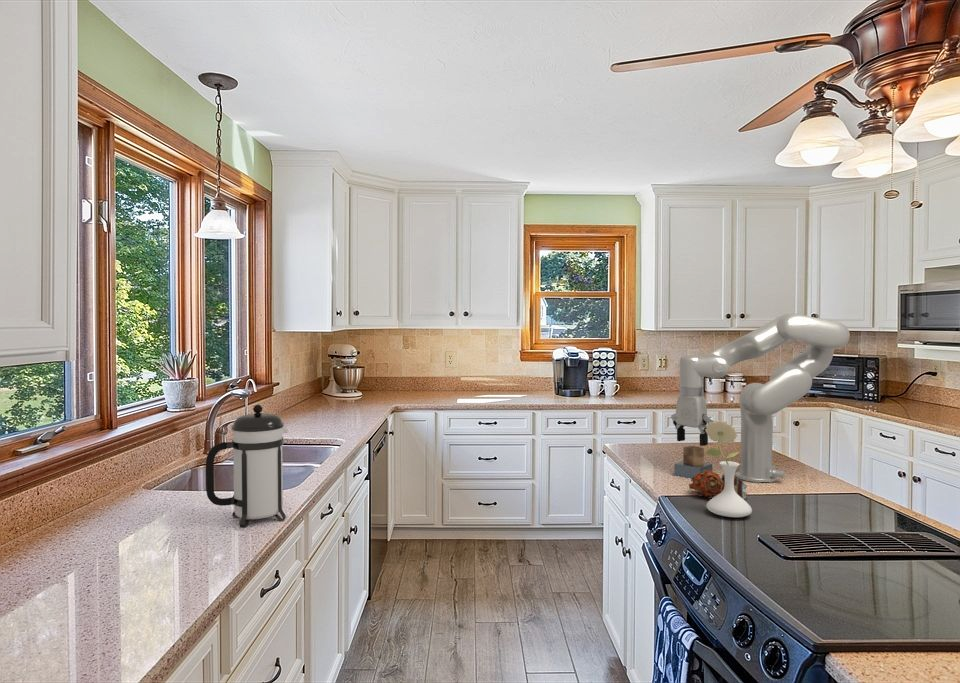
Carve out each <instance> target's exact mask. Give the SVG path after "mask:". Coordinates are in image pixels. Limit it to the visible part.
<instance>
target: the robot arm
mask: <svg viewBox="0 0 960 683" xmlns="http://www.w3.org/2000/svg"><path fill="white" fill-rule="evenodd" d="M850 337H851V333H850V331H849V328H848V327H847V326H846V325H845V324H843V323H841V322H839V321H833V320H829V319H823V318H819V317H814V316H809V315H805V314H800V313H787V314H782V315H780V316H777V317H776V318H774V319H773V320H771V321H769V322H767V323H765V324H764V325H762V326H760V327H758V328H756V329H754V330H752V331H750V332H748V333H746V334H745V335H743V336H740V337H739V338H736V339H734V340H733V341H732V340H731V341H730V342H728V343H726V344H723V345H722V346H720V347H718V348H717V349H714V350H712V351H710V352H709V353H707V354H705V355H704V356H699V355H683V356H681V357H680V358H679V387H678V392H679V395H678V396H677V400H676V406H675V413H673V414H672V415H671V420H672V423H673V425H674V428H675V430H676V441H677V442H683V441H685V440H686V429H685V427H689V428H698V430H699V432H700V433H699V447H703V446H704V447H705V446H708V445H709V436H708V435H707V433H706V431H705V429H707V428H706V427H707V426H708V425H707V424H709V423H710V422H714V421H715V420H713V419H712V418H710V417H709V416H708V409H707V402H706V401H707V400H706V397H705V396H704V390H705V389H704V377H705V378H711V379H712V378H714V379H719V378H721V379H722V378H723V377H725V376H727V374H728V373H729V372H730V370H731V369H730V368H731V367H733V366H735V365H736V364H739V363H741V362H745V361H748V360H753V359H754V360H755V359H757V358H760V357H763V356H765V355H766V354H768V353H770V352H772V351H774V350H776V349H778V348H779V347H781V346H784V345H785V344H787V343H789V342H791V341H794V342H795V341H796V342H800V343H804V344H807V345H806V347H805V349H804V350H803V351H802V352H800V353H799V354H797V355H796V356H795V357H794V358H792V359H790V360H789V361H787V362H785V363H784V364H782V365H780V366H779V367H777V368H776V369H774V370H773V371H772V373H771V374H770V377H769V381H767V382H766V383H760V382H750V383H748V384H747V385H745V386H744V387H742V389H741V392H740V394H739V410H740V470H738V471H737V470H736V471H735V475H734V477H735V478H736V479H739V480H742V481H747V482H750V483H751V482H752V483H761V482H769V483H775V482H777V480H778V478H782V479H785V478H786V472H785V471H784V470H777V469H776V465H775V464H774V465H773V433H774V431H773V429H774V428H773V427H774V425H773V424H774V423H773V421H774V420H773V415H775V414H777V413H778V412H780V411H783V409H786V408H787V407H789V406H790V405H792V404H794V403H795V402H797V401H798V400H799V399H801V398H803V397H804V396H805V395H807V394H808V392H809V391H810V390H811V388H812V385H813V379H814V378H816V377H818V375H820V374H821V373H823V372H824V371H825V370H826V369H827V368H828V367H829V366H830V364H831V362H832V360H833V356H834V352H835V350H837V349H841V348H843V347H845V346H846V345H847V344H848V342H849V341H850Z"/></svg>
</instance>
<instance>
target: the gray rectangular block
mask: <svg viewBox="0 0 960 683" xmlns="http://www.w3.org/2000/svg"><path fill="white" fill-rule="evenodd" d="M673 468H674V472H673V473H674V474H673V475H674V476H675V477H678V476H679V477H678V478H683V477H684V479H688V478H690V479H689V480H692V478H693V477H694V476H695V475H696V474H698V473H703V472H704V470H708V471H713V463H710V462H705V461H704V465H696V466H693V465H689V464H686V463H683V460H681V461H678V462H675V463H674V467H673Z"/></svg>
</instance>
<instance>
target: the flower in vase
mask: <svg viewBox="0 0 960 683" xmlns="http://www.w3.org/2000/svg"><path fill="white" fill-rule="evenodd" d="M713 421H714V422H710V423H709V424H708V423H707V425H708V426H707V425H706V426H707V427H706V428H707V429H705V431H706V433H707V435H708V439H710V440H712V441H713V442H717V443H718V449H717V448H713V447H711V448H709V449H707V450H706V451H705V454H707V455H710V456H713V457H718V456H719V455H721V456H722V458H723V459H724V460H723V461H722V460H721V461H719V462H718V463H719V465H720V466H721V468H722V471H723V474H724V477H725V486H724V490H723V491H722V492H721V493H720V494H718V495H717V496H715V497H713V498H712V499H709V501H707V503H706V505H705V506H706V508H707V510H708V511H710V512H711V513H712V514H715V515H718V516H722V517H726V518H744V517H748V516H749V515H751V514H752V512H753V509H752V507H751V505H750V504H749V503H748V502H747V501H746V499H745V500H743V499H742V498H741V497H740V496H739V495H738V494H737V493H736V492H735V490H734V478H735V473H736V472H737V469H738V467H739V466H741V463H739V462H735V461H731V460H730V461H728V460H727V459H730V458H733V457H736V456H738V454H740V451H737V452H731V453H729V454H727V456H726V457H725V455H724V454H723V452H722V450H721V445H722V444H723V445H726V444H730V443H734V442H735V440H736V439H737V437H738V432H737V431H736V428H735V427H733V425H732V424H729V423H728V422H727V421H722V420H719V419H718V420H713Z"/></svg>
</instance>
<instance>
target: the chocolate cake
mask: <svg viewBox="0 0 960 683" xmlns="http://www.w3.org/2000/svg"><path fill="white" fill-rule="evenodd" d="M720 478H721V479H722V481H723V482H724V484H725V477H724V473H723V474H722V476H721V477H720ZM747 487H748V485H747V484H746V483H745V480H742V479H739V478H737V477H734V490H735V492H736V493H737V494H738V495H739V496H740V497H741V498H742V499H743V500H744V498H747V494H748V493H747ZM747 499H748V498H747Z"/></svg>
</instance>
